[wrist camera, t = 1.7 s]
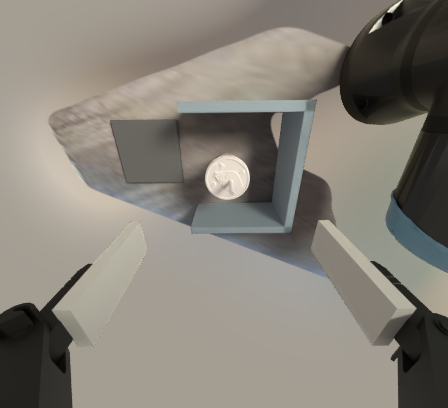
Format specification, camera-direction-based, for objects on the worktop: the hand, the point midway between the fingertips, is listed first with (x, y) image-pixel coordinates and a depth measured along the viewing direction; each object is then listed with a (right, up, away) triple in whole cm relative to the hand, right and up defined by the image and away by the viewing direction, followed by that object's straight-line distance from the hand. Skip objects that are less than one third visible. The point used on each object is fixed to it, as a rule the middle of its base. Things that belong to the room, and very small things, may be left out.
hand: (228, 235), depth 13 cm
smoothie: (0, +10, +20) cm, 23 cm away
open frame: (+2, +10, +20) cm, 23 cm away
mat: (-14, +12, +19) cm, 26 cm away
